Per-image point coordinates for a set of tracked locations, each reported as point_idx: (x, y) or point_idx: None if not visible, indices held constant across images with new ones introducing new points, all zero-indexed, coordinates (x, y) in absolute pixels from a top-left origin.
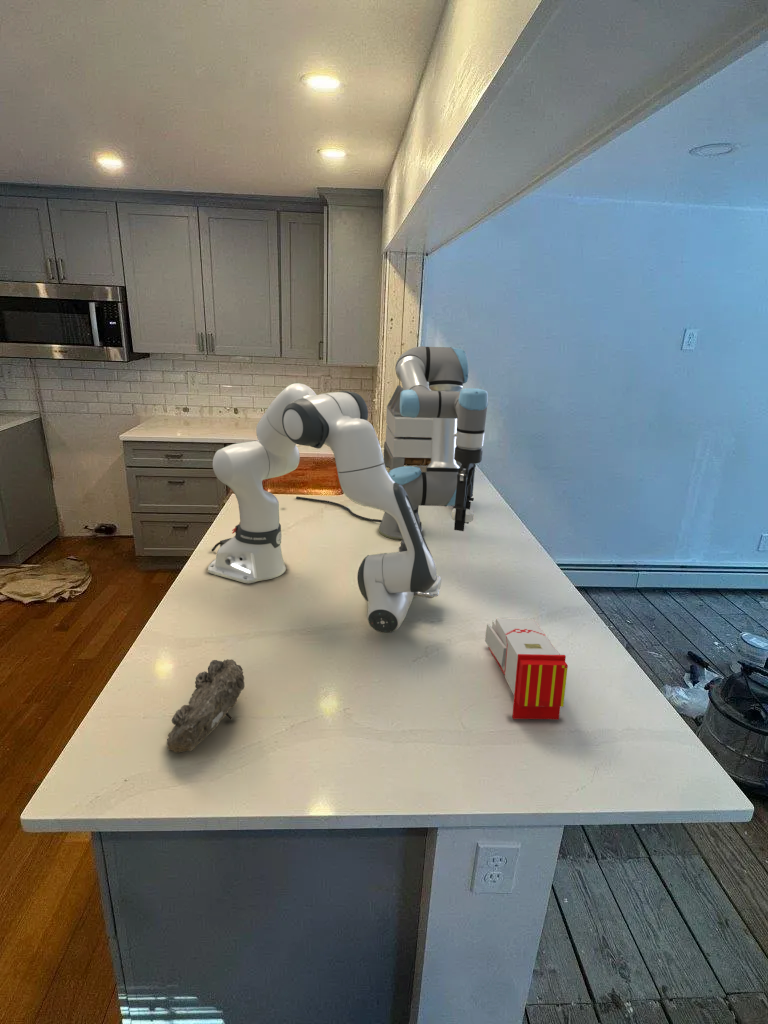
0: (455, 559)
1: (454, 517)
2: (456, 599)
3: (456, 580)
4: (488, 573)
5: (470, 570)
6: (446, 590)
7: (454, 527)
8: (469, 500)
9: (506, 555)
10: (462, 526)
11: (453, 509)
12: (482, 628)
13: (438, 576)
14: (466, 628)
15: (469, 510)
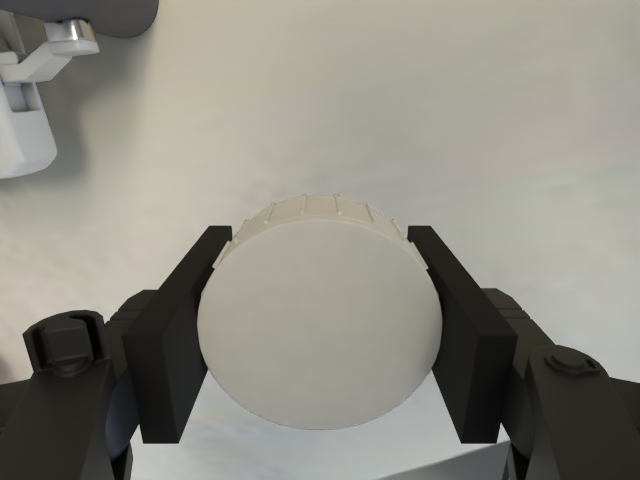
0: (524, 121)
1: (224, 249)
2: (171, 202)
3: (320, 170)
4: None
5: (430, 202)
6: (219, 153)
7: (202, 235)
8: (513, 436)
9: (614, 303)
10: None
11: (343, 226)
12: (43, 307)
13: (6, 165)
14: (13, 267)
15: (383, 386)
